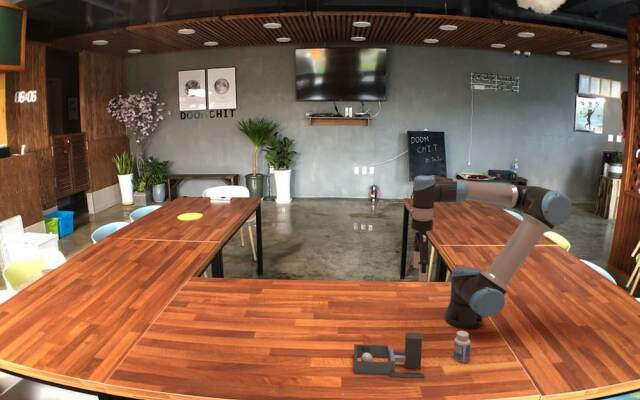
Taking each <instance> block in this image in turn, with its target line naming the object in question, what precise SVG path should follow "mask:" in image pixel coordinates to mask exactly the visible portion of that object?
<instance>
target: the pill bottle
mask: <svg viewBox="0 0 640 400" xmlns="http://www.w3.org/2000/svg"><path fill="white" fill-rule="evenodd" d="M469 335H470V334H469V332H467V331H465V330H458V331H456V337H454V342H453V359H454V360H455V361H457V362H459V363H467V362H469V361H470V356H471V354H470V353H471V339H469V338H470V337H469Z"/></svg>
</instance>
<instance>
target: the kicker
mask: <svg viewBox="0 0 640 400" xmlns="http://www.w3.org/2000/svg"><path fill="white" fill-rule="evenodd" d="M422 349H423V337H422V334H421V333H420V332H405V342H404V352H405V356H402V355H394V352H393V351H394V347H393V346H388V351H389V356H388V360H389V362H390V363H391V369H390V372H396V371H395V369H396V368H395V367H396V366H395V365H396V363H404V367H405V369H416V370H417V369H419V370H420V369H422V367H421V366H422V351H423V350H422Z"/></svg>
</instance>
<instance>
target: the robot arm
mask: <svg viewBox="0 0 640 400" xmlns="http://www.w3.org/2000/svg"><path fill="white" fill-rule="evenodd" d="M465 201H472V202H480V203H485V204H486V203H487V204H494V205H501V206H505V207H506V208H507V209H512V210H516V211H519V212H522V221H521V223H520V224H519V225H518V226H517V228H516V229H515V231H514V232H513V233H512V235H511V236H510V238H508V240H507V241H506V243H505V244H504V246H503V247H502V249H501V250H500V251H499V253H498V254H497V256H496V257H495V258H494V260H493V261H492V262H491V264H490V265H489V266H488V268H487V270H485V271H483V270H482V269H480V268H478V267H474V266H457V267H455V268H453V269H452V272H451V276H450V277H451V279H450V281H451V282H450V283H451V284H450V299H449V300H450V301H449V303H448V305H447V307H446V310H445V312H444V320H445V322H446V323H448V324H449V325H451V326H453V327H456V328H459V329H465V330H473V329H478V328H481V327H482V326H483V323H484V322H483V321H484V319H483V318H484V317H486V318H487V317H493V316H496V315H498V314H499V313H500V312H501V311H502V310H503V309H504V308H505V305H506V297H505V295H506V294H507V292H508V286H507V285H508V284H509V282H510V281H511V279H512V278H513V277H514V275H515V274H516V272H517V271H518V270H519V268H520V267H521V266H522V265H523V263H524V261H525V260H526V259H527V257H528V256H529V255H530V253H531V252H532V250H533V249H534V248H535V246H536V245H537V244H538V243H539V241H540V240H541V238H542V237H543V235H545V233H548V232H552V231H553V229H554V228H555V226H560V225H564V224H565V223H566V222H567V221H568V220H569V219H570V217H571V216H572V212H573V207H572V202H571V200H570V198H569V197H568V196H567V195H566V194H564V193H561V192H559V191H558V190H552V189H549V188H545V187H541V186H537V185H536V186H533V185H518V184H509V185H508V186H507V185H500V184H499V185H498V184H493V183H486V182H478V181H473V180H472V181H471V180H463V179H457V178H449V177H442V176H439V175H434V174H433V175H416V176H415V177H414V179H413V186H412V209H410V212H411V229H412V230H413V231H415V232H414V233H415V234H414V241H413V248H414V249H413V250H414V251H413V269H418V282H427V277H428V276H427V275H428V265H429V264H430V261H429V235H428V234H427V232H430V231H432V230H433V227H434V220H433V219H434V212H435V211H434V210H435V208H434V207H435V203H462V202H465Z"/></svg>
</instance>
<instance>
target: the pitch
mask: <svg viewBox="0 0 640 400" xmlns="http://www.w3.org/2000/svg"><path fill="white" fill-rule="evenodd" d="M393 352H394V355H402V356H405V351H394V350H393ZM364 353H370V354H371V355H372V358H376V357H379V358H389V346H388V345H387V344H386V345H385V344H358V343H356V344H353V374H362V375H363V374H365V375H381V376H382V375H384V376H385V375H386V376H390V377H391V378H411V379H412V378H413V379H417V378H418V379H425V373H424V372H407V371H406V372H405V371H395V372H391V363H390V362H388V361H372V362H370V361H361V360H358V357H361V356H362V355H363V354H364Z"/></svg>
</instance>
